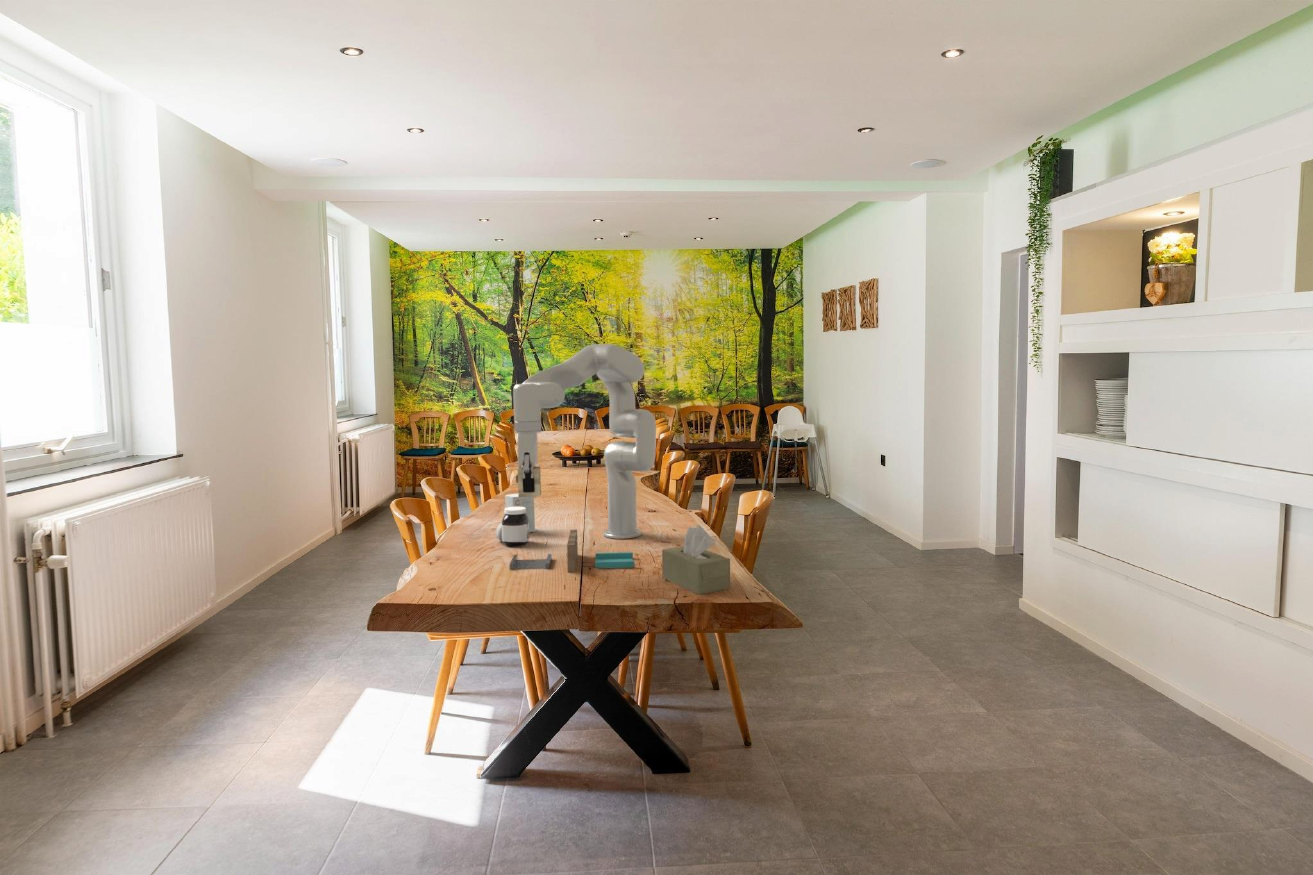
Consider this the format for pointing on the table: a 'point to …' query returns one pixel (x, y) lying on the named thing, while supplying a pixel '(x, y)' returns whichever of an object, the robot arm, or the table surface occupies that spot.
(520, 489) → the block
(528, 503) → the small box
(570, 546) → the door panel
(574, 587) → the table surface
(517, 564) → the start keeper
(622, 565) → the teal square tray
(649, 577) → the table surface
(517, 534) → the spread jar
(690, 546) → the tissue box
